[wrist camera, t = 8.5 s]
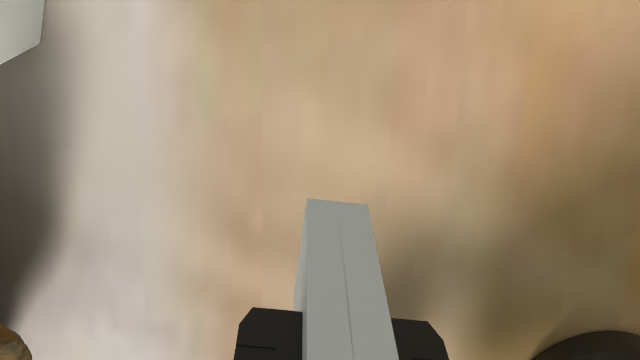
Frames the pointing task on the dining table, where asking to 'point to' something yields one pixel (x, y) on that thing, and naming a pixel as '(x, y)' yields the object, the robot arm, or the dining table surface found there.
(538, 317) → the dining table surface
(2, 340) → the brown cowboy hat
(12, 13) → the medicine bottle
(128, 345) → the dining table surface
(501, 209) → the dining table surface
